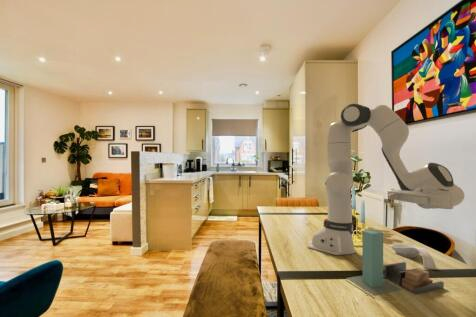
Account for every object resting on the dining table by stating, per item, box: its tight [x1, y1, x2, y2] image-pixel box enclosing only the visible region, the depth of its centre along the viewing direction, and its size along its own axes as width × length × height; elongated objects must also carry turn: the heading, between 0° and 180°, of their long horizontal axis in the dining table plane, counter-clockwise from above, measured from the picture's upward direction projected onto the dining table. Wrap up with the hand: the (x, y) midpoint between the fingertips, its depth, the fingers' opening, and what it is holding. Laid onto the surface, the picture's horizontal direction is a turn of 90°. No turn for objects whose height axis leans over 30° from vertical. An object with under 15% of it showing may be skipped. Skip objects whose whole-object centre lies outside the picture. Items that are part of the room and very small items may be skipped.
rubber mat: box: [345, 274, 403, 300], centre depth 84 cm, size 12×12×1 cm
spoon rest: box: [390, 243, 437, 270], centre depth 108 cm, size 24×12×7 cm, turn 173°
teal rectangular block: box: [362, 229, 384, 287], centre depth 84 cm, size 5×4×18 cm
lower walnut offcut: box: [402, 278, 434, 291], centre depth 82 cm, size 9×4×2 cm, turn 108°
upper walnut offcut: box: [405, 267, 430, 284], centre depth 82 cm, size 7×4×2 cm, turn 114°
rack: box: [383, 261, 445, 295], centre depth 86 cm, size 13×14×5 cm
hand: (400, 198), depth 88 cm, fingers open, 8 cm apart
